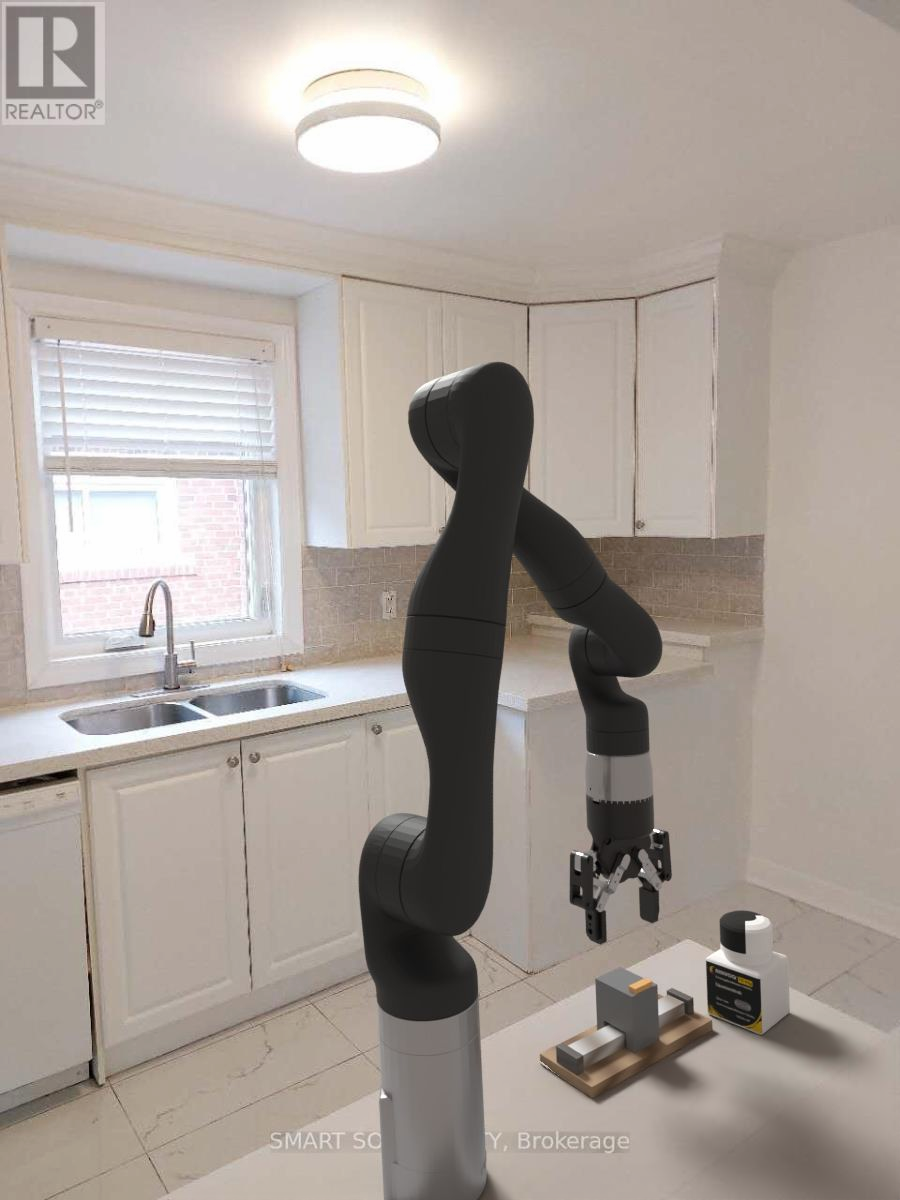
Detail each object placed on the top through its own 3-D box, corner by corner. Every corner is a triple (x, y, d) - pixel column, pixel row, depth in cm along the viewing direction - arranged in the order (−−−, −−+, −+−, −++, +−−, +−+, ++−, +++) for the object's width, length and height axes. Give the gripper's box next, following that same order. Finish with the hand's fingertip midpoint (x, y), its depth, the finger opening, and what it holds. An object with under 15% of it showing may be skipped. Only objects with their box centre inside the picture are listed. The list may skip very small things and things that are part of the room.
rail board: (592, 1098, 88) (590, 1070, 88) (540, 1064, 95) (539, 1037, 94) (712, 1029, 100) (711, 1004, 100) (659, 1003, 106) (658, 979, 106)
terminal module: (634, 1053, 94) (631, 991, 93) (597, 1032, 98) (594, 973, 98) (659, 1039, 96) (657, 979, 96) (622, 1019, 101) (620, 962, 100)
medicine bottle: (706, 1014, 103) (703, 917, 103) (736, 993, 108) (733, 900, 107) (761, 1037, 98) (758, 934, 97) (791, 1013, 103) (788, 915, 102)
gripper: (636, 773, 103) (640, 905, 104) (550, 795, 95) (555, 938, 95) (686, 784, 97) (690, 924, 98) (598, 808, 89) (604, 961, 89)
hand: (623, 930), depth 97 cm, fingers open, 8 cm apart
